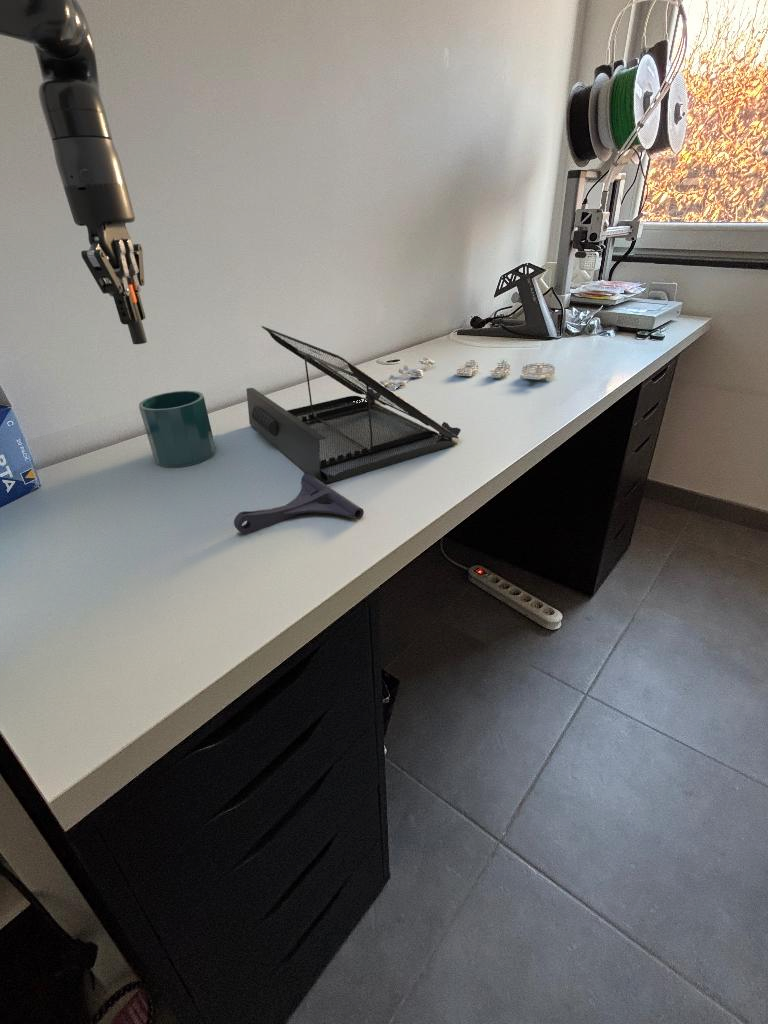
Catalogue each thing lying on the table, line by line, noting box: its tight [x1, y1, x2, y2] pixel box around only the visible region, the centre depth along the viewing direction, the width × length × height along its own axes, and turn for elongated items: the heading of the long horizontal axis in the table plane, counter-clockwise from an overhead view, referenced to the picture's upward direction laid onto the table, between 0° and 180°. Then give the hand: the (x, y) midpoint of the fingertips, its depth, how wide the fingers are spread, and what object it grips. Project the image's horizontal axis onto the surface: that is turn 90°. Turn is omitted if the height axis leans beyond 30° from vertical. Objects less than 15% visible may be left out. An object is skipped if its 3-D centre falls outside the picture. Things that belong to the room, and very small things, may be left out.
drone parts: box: [379, 357, 556, 391], centre depth 121 cm, size 23×35×3 cm, turn 60°
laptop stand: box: [245, 325, 462, 485], centre depth 93 cm, size 33×28×18 cm
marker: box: [126, 284, 148, 345], centre depth 77 cm, size 2×2×8 cm
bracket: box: [233, 473, 365, 535], centre depth 71 cm, size 14×15×3 cm
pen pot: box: [138, 390, 217, 469], centre depth 90 cm, size 10×10×10 cm
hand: (133, 321), depth 77 cm, fingers closed on marker, 2 cm apart
